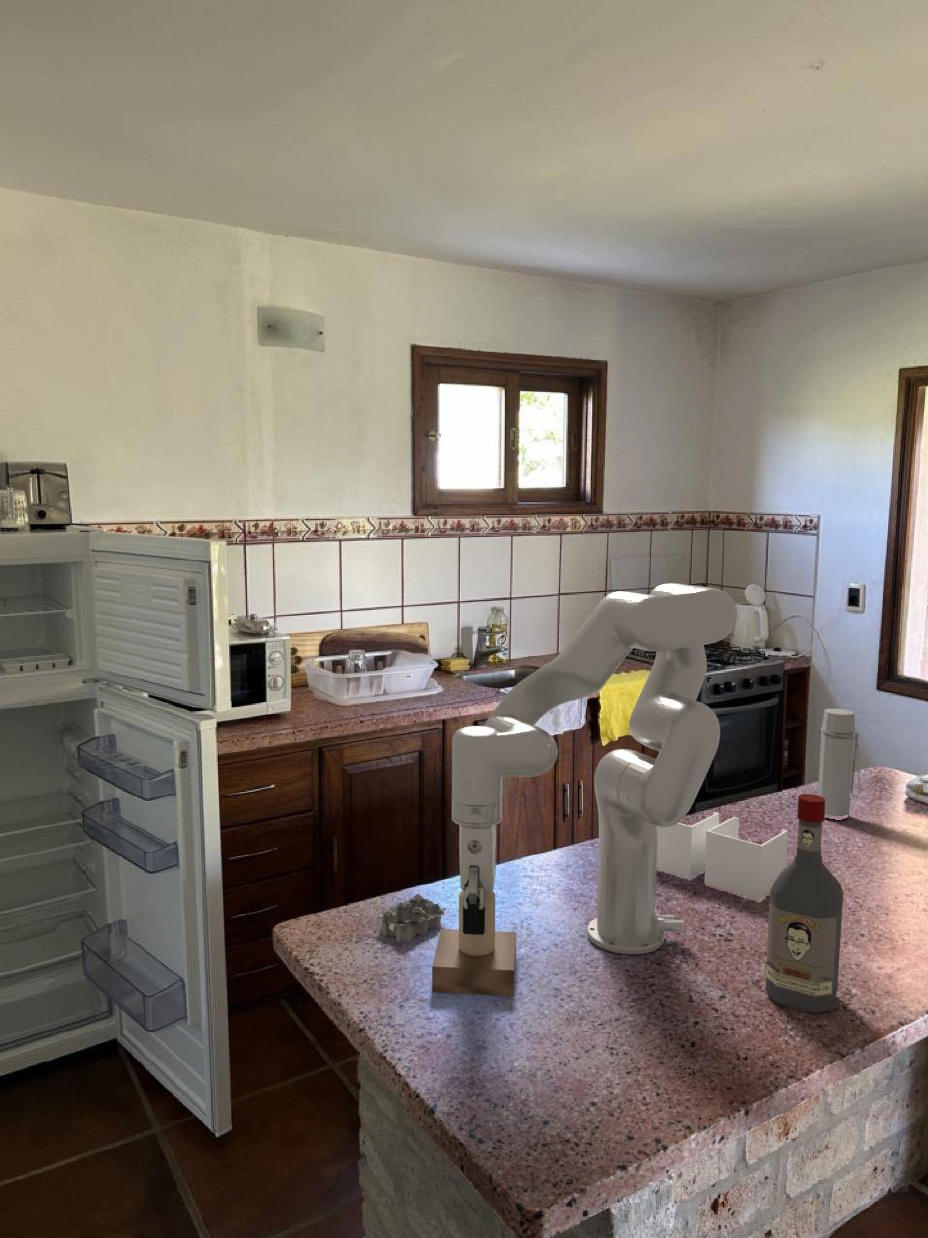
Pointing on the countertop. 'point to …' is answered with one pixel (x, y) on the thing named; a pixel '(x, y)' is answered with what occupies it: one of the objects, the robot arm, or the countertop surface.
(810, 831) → the liquor
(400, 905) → the egg carton
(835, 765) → the water bottle
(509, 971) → the plinth
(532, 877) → the countertop surface
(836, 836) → the countertop surface
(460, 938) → the candle
